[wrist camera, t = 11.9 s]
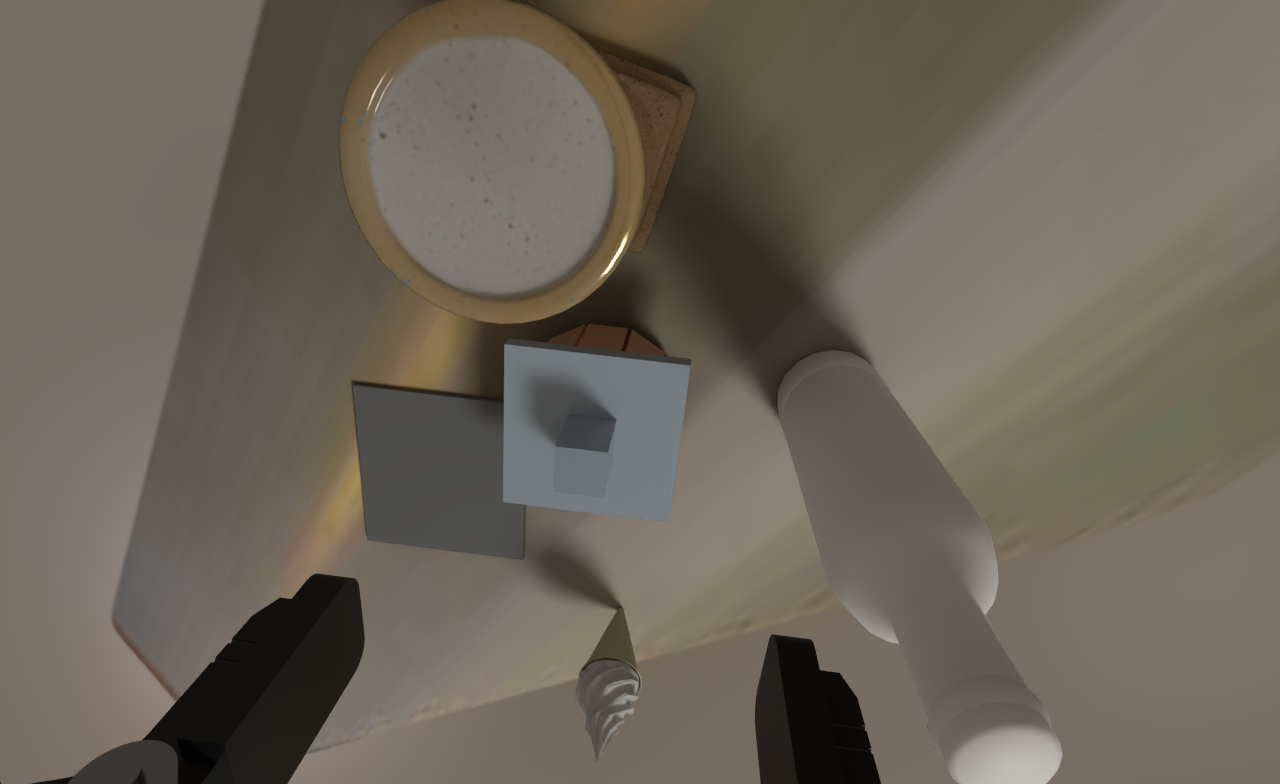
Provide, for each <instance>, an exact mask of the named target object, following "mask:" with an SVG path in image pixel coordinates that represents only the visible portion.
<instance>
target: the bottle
mask: <svg viewBox="0 0 1280 784" xmlns="http://www.w3.org/2000/svg"><path fill="white" fill-rule="evenodd" d="M777 408H778V416H779V420H780V423H781V426H782V429H783V431H784V434H785V437H786V439H787V442H788V446H789V449H790V453H791V456H792V460H793V463H794V466H795V470H796V473H797V477H798V480H799V484H800V487H801V491H802V494H803V497H804V501H805V504H806V508H807V511H808V515H809V518H810V522H811V525H812V528H813V532H814V535H815V539H816V542H817V546H818V549H819V553H820V556H821V559H822V563H823V566H824V570H825V573H826V576H827V578H828V581H829V584H830V586H831V589H832V592H833V594H834V595H835V596H836V597H837V598H838V600H839V601H840V602H841V603H842V604H843V606H844V607H845V608H846V609H847V610H848V611H849V612H850V613H851V614H852V615H853V616H854V617H855V618H856V619H857V620H858V621H859V622H860V623H861V624H862V625H863V626H864V627H865V628H866V629H867V630H868V631H869V632H870V633H872V634H874V635H876V636H878V637H880V638H883V639H884V640H887V641H888V642H893V643H899V645H900V648H901V650H902V653H903V655H904V658H905V660H906V663H907V665H908V668H909V671H910V673H911V676H912V678H913V681H914V684H915V686H916V689H917V691H918V694H919V696H920V699H921V701H922V704H923V707H924V709H925V712H926V714H927V717H928V725H927V727H928V730H929V733H930V736H931V739H932V741H933V744H934V747H935V749H936V750H937V751H938V752H939V753H940V754H941V755H942V756H943V757H944V760H945V763H946V765H947V768H948V770H949V773H950V775H951V777H952V778H953V779H954V780H955V781H956V782H957V783H958V784H1046V783H1047V782H1048V781H1049V780H1050V779H1051V777H1052V776H1053V775H1054V774H1055V772H1056V771H1057V770H1058V768H1059V765H1060V761H1061V758H1062V755H1063V754H1062V750H1061V746H1060V742H1059V740H1058V738H1057V736H1056V735H1055V733H1054V731H1053V730H1052V728H1051V724H1050V720H1049V716H1048V712H1047V710H1046V708H1045V707H1044V705H1043V703H1042V702H1041V701H1040V700H1039V699H1038V698H1037V697H1036V695H1035V694H1034V693H1033V692H1032V691H1031V690H1029V689H1028V687H1027V685H1026V684H1025V682H1024V680H1023V678H1022V677H1021V675H1020V673H1019V672H1018V670H1017V668H1016V667H1015V665H1014V663H1013V662H1012V660H1011V658H1010V656H1009V655H1008V653H1007V651H1006V649H1005V648H1004V646H1003V644H1002V643H1001V641H1000V639H999V638H998V636H997V634H996V632H995V631H994V629H993V627H992V626H991V624H990V622H989V621H988V619H987V617H986V615H985V614H986V613H987V611H988V610H989V609H990V607H991V606H992V605H993V603H994V600H995V596H996V592H997V587H998V583H999V582H998V569H997V561H996V556H995V551H994V547H993V543H992V539H991V535H990V531H989V528H988V526H987V525H986V523H985V522H984V521H983V519H982V518H981V517H980V515H979V514H978V512H977V511H976V510H975V508H974V507H973V505H972V504H971V503H970V501H969V500H968V498H967V497H966V496H965V494H964V493H963V492H962V490H961V489H960V487H959V486H958V485H957V483H956V482H955V480H954V479H953V478H952V476H951V475H950V474H949V472H948V471H947V469H946V468H945V467H944V465H943V464H942V462H941V461H940V460H939V458H938V457H937V455H936V454H935V453H934V451H933V450H932V449H931V447H930V446H929V444H928V443H927V442H926V440H925V439H924V437H923V436H922V435H921V433H920V432H919V431H918V429H917V428H916V426H915V425H914V424H913V422H912V421H911V419H910V418H909V417H908V415H907V414H906V412H905V411H904V410H903V408H902V407H901V406H900V404H899V403H898V401H897V400H896V399H895V397H894V396H893V394H892V393H891V391H890V388H889V386H888V385H887V383H886V382H885V381H884V380H883V378H882V377H881V376H880V375H879V374H878V372H877V371H876V370H875V369H874V368H873V367H872V366H871V365H870V364H869V363H868V362H867V361H866V360H864V359H862V358H861V357H859V356H857V355H855V354H853V353H851V352H845V351H838V350H829V351H823V352H817V353H813V354H811V355H810V356H808V357H806V358H804V359H802V360H800V361H798V362H797V363H796V364H795V365H794V366H793V367H792V368H791V369H790V370H789V371H788V372H787V373H786V374H785V376H784V378H783V381H782V383H781V385H780V387H779V390H778V401H777Z"/></svg>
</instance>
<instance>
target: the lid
mask: <svg viewBox="0 0 1280 784" xmlns="http://www.w3.org/2000/svg"><path fill="white" fill-rule="evenodd" d="M690 367H691V359H686V358H677V357H668V356H659V355H651V354H642V353H633V352H625V351H616V350H607V349H598V348H590V347H581V346H572V345H564V344H555V343H546V342H537V341H529V340H520V339H511V338H509V339H508V340H507V342H506V343H505V344H504V449H503V502H507V503H515V504H523V505H531V506H539V507H547V508H556V509H564V510H572V511H580V512H588V513H596V514H604V515H612V516H620V517H628V518H636V519H645V520H653V521H661V522H669V523H670V516H671V509H672V501H673V494H674V486H675V479H676V471H677V464H678V456H679V449H680V442H681V434H682V427H683V419H684V412H685V404H686V397H687V389H688V382H689V375H690Z"/></svg>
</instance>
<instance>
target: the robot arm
mask: <svg viewBox="0 0 1280 784" xmlns="http://www.w3.org/2000/svg"><path fill="white" fill-rule="evenodd" d="M364 641H365V636H364V627H363V617H362V608H361V599H360V590H359V584H358V582H357V580H356V579H354V578H347V577H339V576H332V575H324V574H314V575H312V576H311V577H310V578H309V579H308V580H307V581H306V582H305V583H304V585H303V586H302V587H301V588H300V589H299V591H298V592H297V593H296V594H295V595H294V597H293V598H292V599H287V598H279V599H277V600H276V601H274V602H273V603H271V604H270V605H268V606H266V607H265V608H263V609H262V610H260V611H259V612H257V613H256V614H254V615H253V616H252V617H251V618H250V619H249V620H248V621H247V622H246V623H245V625H244V626H243V627H242V628H241V629H240V630H239V631H238V633H237V634H236V635H235V636H234V637H233V638H232V642H231V643H228V644H227V645H226V646H225V647H224V648H223V650H222V651H221V652H220V653H219V654H218V655H217V656H216V659H215V661H214V663H212V662H211V663H210V664H209V665H208V667H207V668H206V669H205V670H204V671H203V672H202V673H201V675H200V676H199V677H198V678H197V679H196V680H195V681H194V683H193V684H192V685H191V686H190V687H189V688H188V689H187V691H186V692H185V693H184V694H183V695H182V696H181V697H180V698H179V700H178V701H177V702H176V703H175V704H174V705H173V706H172V708H171V709H170V710H169V711H168V712H167V713H166V714H165V716H164V717H163V718H162V719H161V720H160V721H159V722H158V724H157V725H156V726H155V727H154V728H153V729H152V731H151V732H150V733H149V734H148V735H147V736H146V737H145V738H144V739H143V740H142V741H136V742H131V743H128V744H125V745H121V746H119V747H116V748H114V749H112V750H110V751H108V752H106V753H104V754H102V755H100V756H99V757H97V758H96V759H94V760H92V762H90V763H89V764H87V765H86V766H85V767H83V768H82V769H81V770H80V771H79V772H78V773H77V774H76V775H75V776H73V777H69V778H63V779H57V780H52V781H45V782H39V783H33V784H287V783H288V782H289V780H290V779H291V777H292V775H293V774H294V772H295V770H296V769H297V767H298V765H299V764H300V762H301V761H302V759H303V757H304V756H305V754H306V752H307V751H308V749H309V747H310V746H311V744H312V742H313V741H314V739H315V737H316V736H317V734H318V733H319V731H320V729H321V728H322V726H323V724H324V723H325V721H326V719H327V718H328V716H329V714H330V713H331V711H332V709H333V708H334V706H335V705H336V703H337V701H338V700H339V698H340V696H341V695H342V693H343V691H344V690H345V688H346V686H347V685H348V683H349V681H350V680H351V678H352V677H353V675H354V673H355V671H356V670H357V667H358V665H359V663H360V660H361V657H362V653H363V649H364ZM755 729H756V739H757V749H758V760H759V769H760V780H761V784H881V782H880V778H879V774H878V771H877V767H876V764H875V760H874V757H873V754H871V746H870V742H869V738H868V735H867V731H865V724H864V720H863V717H862V713H861V710H860V706H859V702H858V699H857V697H856V696H855V694H854V693H853V691H852V690H851V689H850V687H849V686H848V684H847V683H846V681H845V680H844V679H843V677H842V676H841V674H840V673H836V672H827V671H821V670H820V669H819V664H818V661H817V655H816V651H815V647H814V644H813V641H812V640H811V639H804V638H796V637H789V636H781V635H771V637H770V639H769V643H768V647H767V651H766V655H765V660H764V664H763V668H762V672H761V677H760V681H759V685H758V689H757V695H756V705H755ZM0 784H1V782H0Z"/></svg>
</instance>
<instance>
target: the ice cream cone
mask: <svg viewBox="0 0 1280 784" xmlns="http://www.w3.org/2000/svg"><path fill="white" fill-rule="evenodd" d="M641 686H642V680H641V676H640V674H639V672H638V669H637V665H636V660H635V656H634V651H633V647H632V643H631V639H630V635H629V630H628V626H627V622H626V618H625V614H624V609H623V608H618V610H617V612H616V614H615V615H614V617H613V619H612V620H611V622H610V624H609V625H608V627H607V629H606V631H605V632H604V634H603V636H602V637H601V639H600V641H599V643H598V645H597V646H596V648H595V650H594V651H593V653H592V655H591V656H590V658H589V660H588V662H587V663H586V664H585V665H584V666H583V667H582V669H581V671H580V674H579V681H578V684H577V688H576V703H577V705H578V707H579V709H580V711H581V713H582V715H583V717H584V718H585V719H586V730H587V731H588V733H589V735H590V736H591V739H592V743H593V747H594V751H595V755H596V760H599V758H600V756H601V754H602V753H603V751H604V749H605V747H606V746H607V744H608V743H609V741H610V740H611V738H612V737H613V736H614V735H616V734H617V733H619V731H618V730H617V728H616V727H617V726H618V725H619V724H620V723H621V724H622V723H624V722H625V721H624V719H623V716H624V714H625V713H628V714H633V713H634V708H632V707H630V702H631V701H634V700H636V699H638V697H639V696H638V693H639V692H640V689H641Z"/></svg>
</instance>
